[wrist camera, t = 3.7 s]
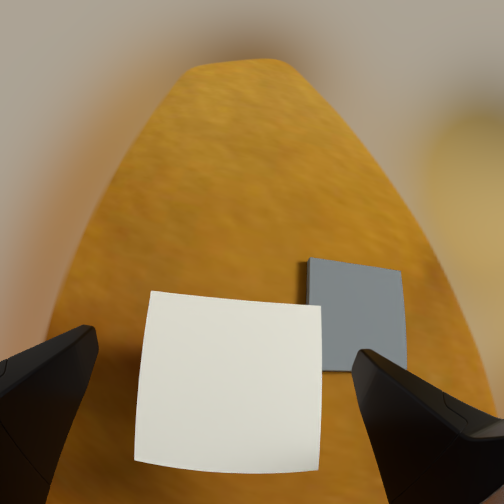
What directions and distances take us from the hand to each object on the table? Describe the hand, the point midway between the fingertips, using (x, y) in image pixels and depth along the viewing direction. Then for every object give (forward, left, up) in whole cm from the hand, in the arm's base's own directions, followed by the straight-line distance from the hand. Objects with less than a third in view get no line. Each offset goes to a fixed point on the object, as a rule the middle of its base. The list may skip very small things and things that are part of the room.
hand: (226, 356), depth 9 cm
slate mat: (+4, -8, -7) cm, 11 cm away
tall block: (-1, 0, -7) cm, 7 cm away
